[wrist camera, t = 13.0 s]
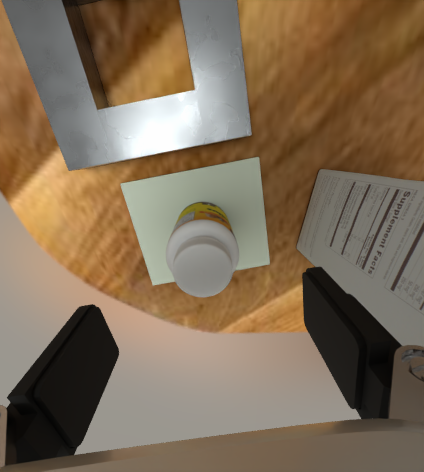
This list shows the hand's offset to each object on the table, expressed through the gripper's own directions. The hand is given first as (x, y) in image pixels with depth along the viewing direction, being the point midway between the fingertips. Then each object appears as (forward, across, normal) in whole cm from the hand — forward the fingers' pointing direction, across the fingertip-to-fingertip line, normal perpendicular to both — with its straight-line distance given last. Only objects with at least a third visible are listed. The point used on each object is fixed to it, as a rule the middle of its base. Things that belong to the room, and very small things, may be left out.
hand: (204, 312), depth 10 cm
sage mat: (+15, +1, +1) cm, 15 cm away
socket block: (+16, +3, -15) cm, 22 cm away
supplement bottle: (+15, 0, +1) cm, 15 cm away
